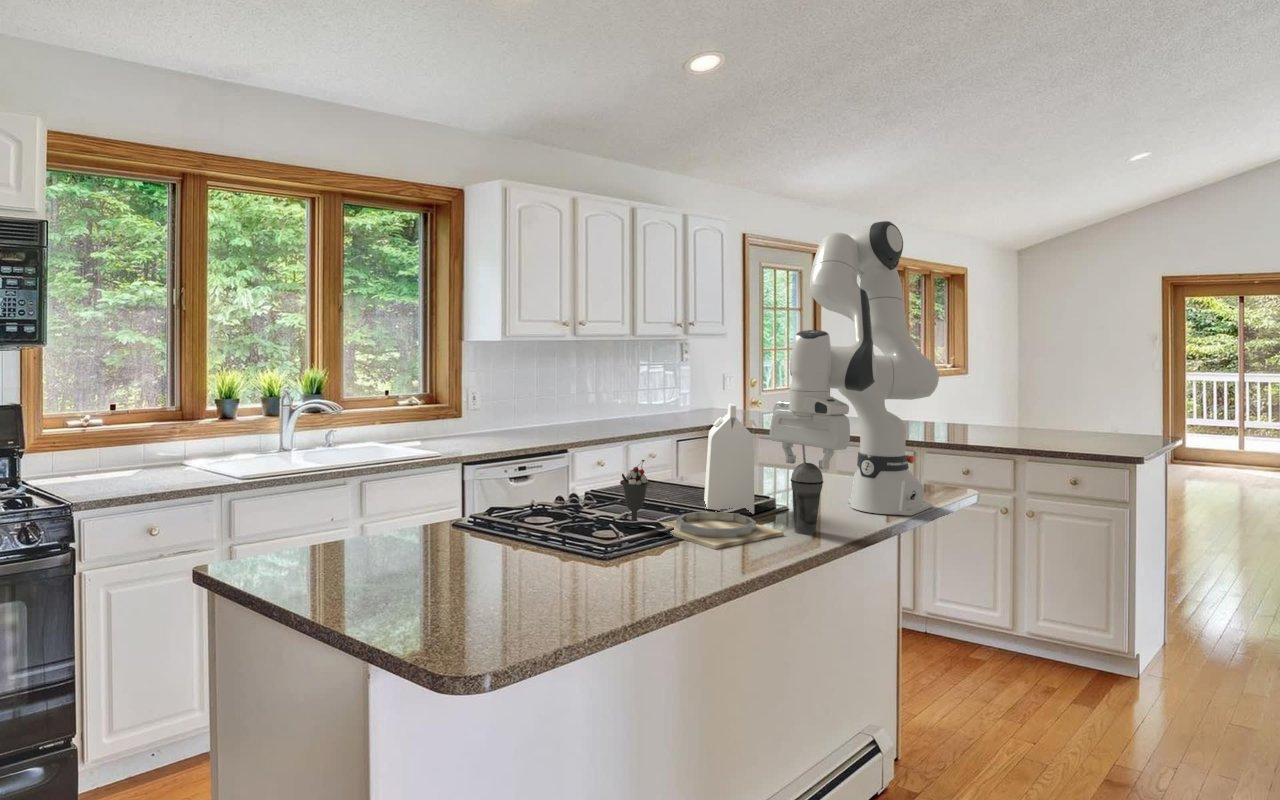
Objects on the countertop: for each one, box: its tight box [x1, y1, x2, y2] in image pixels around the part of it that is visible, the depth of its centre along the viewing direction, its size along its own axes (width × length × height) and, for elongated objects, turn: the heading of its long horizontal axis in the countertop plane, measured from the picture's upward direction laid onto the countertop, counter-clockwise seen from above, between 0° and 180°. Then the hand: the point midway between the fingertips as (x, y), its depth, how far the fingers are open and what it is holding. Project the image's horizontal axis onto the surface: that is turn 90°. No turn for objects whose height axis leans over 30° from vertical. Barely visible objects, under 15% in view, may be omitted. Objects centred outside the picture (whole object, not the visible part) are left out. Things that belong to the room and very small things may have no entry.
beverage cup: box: [790, 445, 824, 535], centre depth 193 cm, size 7×7×20 cm
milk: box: [703, 403, 755, 515], centre depth 215 cm, size 12×12×26 cm
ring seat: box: [661, 511, 785, 550], centre depth 191 cm, size 21×21×3 cm
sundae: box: [619, 459, 650, 522], centre depth 194 cm, size 7×7×15 cm
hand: (806, 465), depth 192 cm, fingers open, 8 cm apart
